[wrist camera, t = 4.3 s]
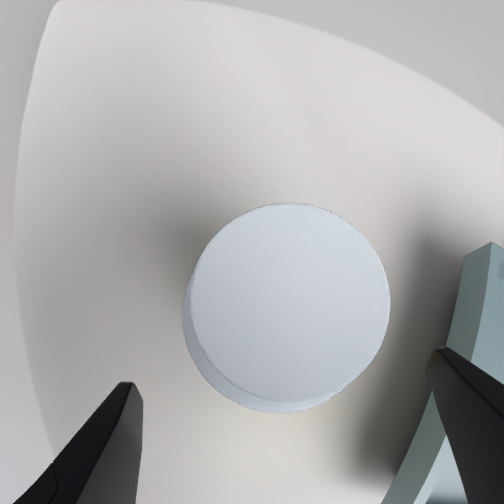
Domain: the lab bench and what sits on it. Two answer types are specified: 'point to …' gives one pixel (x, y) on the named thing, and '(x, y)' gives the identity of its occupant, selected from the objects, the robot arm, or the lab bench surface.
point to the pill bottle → (285, 307)
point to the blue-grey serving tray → (477, 352)
